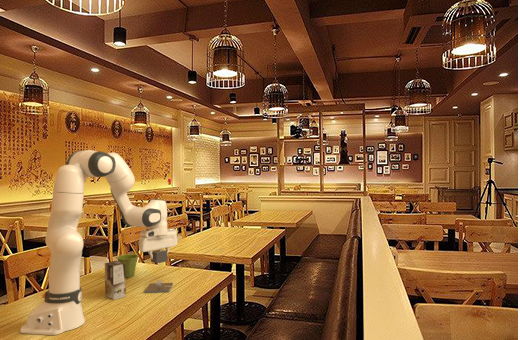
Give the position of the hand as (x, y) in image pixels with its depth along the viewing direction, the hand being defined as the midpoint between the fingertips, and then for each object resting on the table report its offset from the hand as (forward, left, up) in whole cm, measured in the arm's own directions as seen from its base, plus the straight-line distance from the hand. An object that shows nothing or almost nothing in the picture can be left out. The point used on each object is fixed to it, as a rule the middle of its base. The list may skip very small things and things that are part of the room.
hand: (159, 257), depth 192 cm
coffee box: (-19, -9, -16) cm, 27 cm away
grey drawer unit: (0, 0, -2) cm, 2 cm away
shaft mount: (0, 0, -16) cm, 16 cm away
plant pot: (-22, +23, -16) cm, 36 cm away
